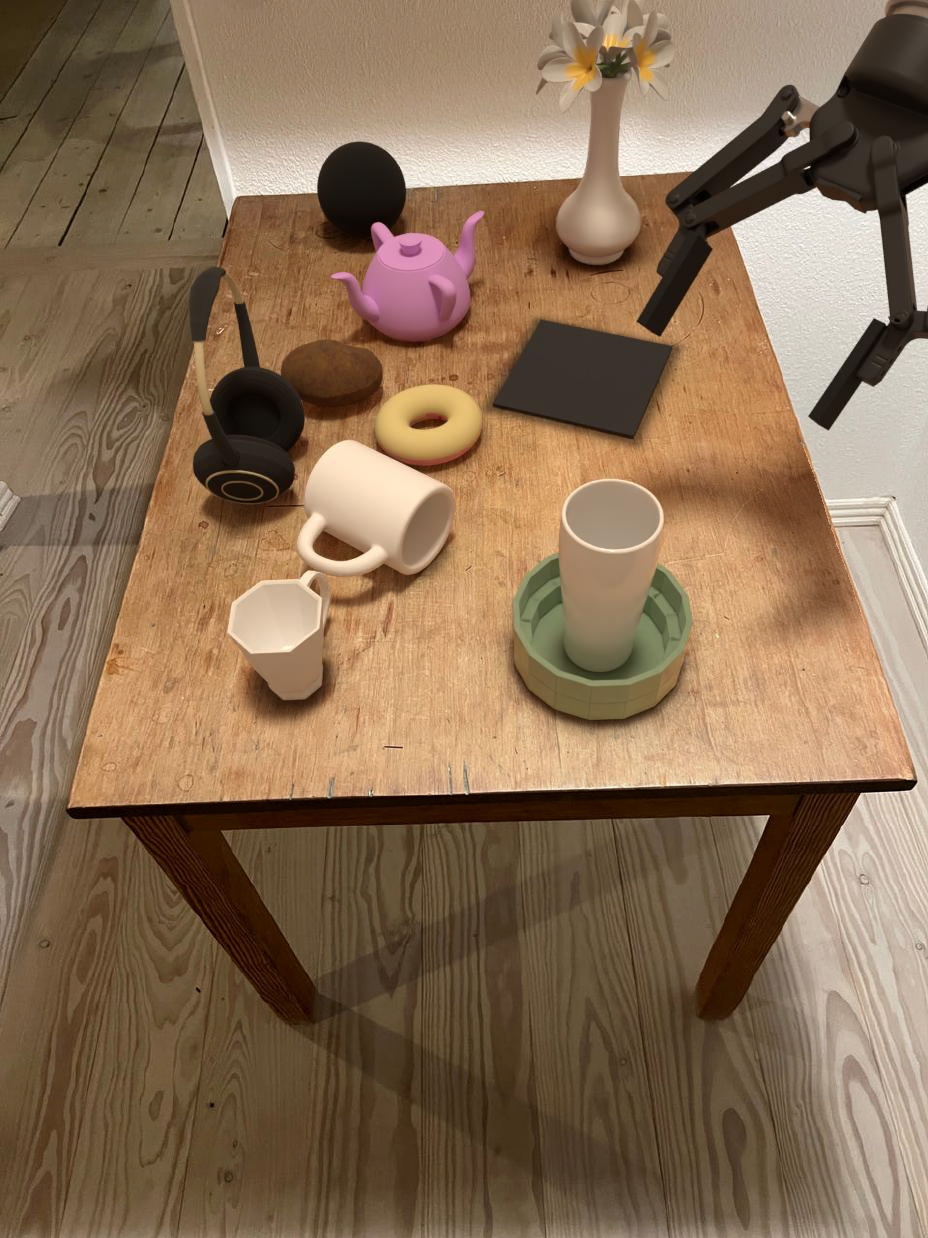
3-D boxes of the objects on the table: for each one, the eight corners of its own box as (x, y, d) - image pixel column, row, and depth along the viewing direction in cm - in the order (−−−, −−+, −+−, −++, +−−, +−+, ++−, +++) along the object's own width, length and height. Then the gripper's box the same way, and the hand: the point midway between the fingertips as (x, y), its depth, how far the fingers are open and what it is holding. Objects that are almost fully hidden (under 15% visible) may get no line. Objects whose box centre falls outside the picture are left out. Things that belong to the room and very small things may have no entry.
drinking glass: (542, 670, 72) (547, 539, 60) (567, 603, 76) (576, 467, 64) (629, 694, 70) (652, 563, 58) (650, 624, 74) (676, 488, 62)
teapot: (487, 284, 103) (484, 208, 96) (453, 364, 95) (447, 286, 88) (384, 272, 105) (374, 196, 98) (342, 348, 97) (328, 272, 90)
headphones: (200, 535, 83) (123, 345, 67) (229, 422, 91) (167, 230, 76) (297, 534, 82) (243, 342, 66) (316, 420, 91) (273, 227, 75)
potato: (385, 417, 91) (378, 364, 86) (284, 425, 91) (270, 372, 86) (384, 373, 95) (377, 320, 90) (287, 381, 95) (274, 328, 90)
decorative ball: (321, 215, 113) (306, 131, 105) (403, 203, 114) (394, 119, 106) (329, 261, 107) (314, 175, 99) (415, 248, 108) (407, 162, 100)
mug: (370, 488, 85) (358, 420, 79) (459, 533, 81) (454, 466, 75) (280, 573, 80) (259, 508, 73) (371, 626, 76) (358, 562, 69)
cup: (234, 700, 72) (206, 639, 66) (295, 603, 78) (274, 537, 71) (316, 727, 70) (295, 667, 64) (372, 626, 76) (358, 560, 69)
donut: (488, 473, 89) (464, 399, 93) (497, 440, 85) (471, 365, 89) (384, 484, 86) (364, 408, 90) (388, 451, 82) (367, 373, 87)
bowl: (700, 610, 75) (710, 570, 71) (656, 745, 68) (665, 708, 64) (545, 568, 78) (546, 527, 75) (489, 691, 71) (487, 654, 67)
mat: (672, 349, 95) (672, 345, 95) (633, 438, 87) (633, 435, 87) (540, 322, 99) (540, 319, 98) (492, 406, 91) (492, 403, 91)
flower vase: (654, 205, 111) (683, -41, 91) (648, 298, 100) (680, 41, 80) (544, 201, 113) (549, -42, 93) (526, 292, 102) (528, 39, 82)
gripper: (1150, 146, 52) (910, 478, 59) (775, 22, 64) (609, 310, 70) (1159, 78, 46) (889, 458, 52) (741, -46, 57) (562, 278, 64)
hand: (728, 374), depth 61 cm, fingers open, 13 cm apart
